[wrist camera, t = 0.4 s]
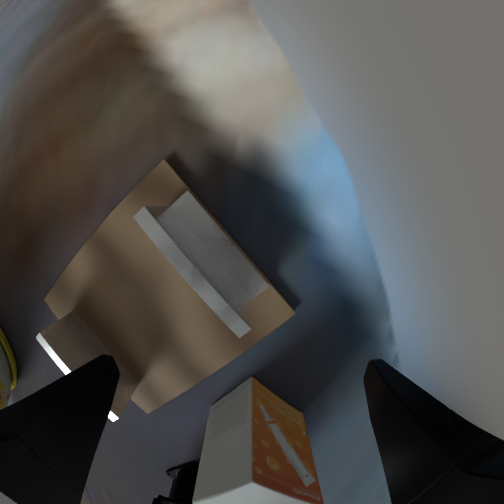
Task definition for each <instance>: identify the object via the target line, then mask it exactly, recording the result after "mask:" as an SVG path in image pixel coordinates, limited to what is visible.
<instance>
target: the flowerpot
mask: <svg viewBox="0 0 504 504" xmlns="http://www.w3.org/2000/svg"><path fill="white" fill-rule="evenodd" d="M16 383H17V367H16V362H15V358H14V355H13V352H12V350H11V347H10V345H9V343H8V341H7V339H6V337H5V335H4V333H3V331H2V330H1V328H0V409H3V408H5V407H7V404H8V401H9V397H10V390H11V389H13V388H15V386H16Z"/></svg>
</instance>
